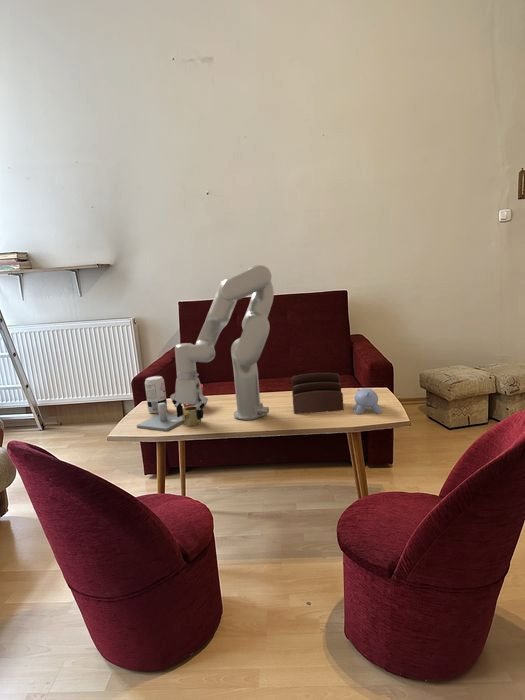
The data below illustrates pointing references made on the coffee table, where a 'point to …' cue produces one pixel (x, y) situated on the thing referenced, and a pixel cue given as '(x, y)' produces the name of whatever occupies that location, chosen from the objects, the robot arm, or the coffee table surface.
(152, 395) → the supplement can
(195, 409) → the cup
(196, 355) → the robot arm
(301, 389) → the letter holder
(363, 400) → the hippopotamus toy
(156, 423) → the post base
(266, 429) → the coffee table surface
